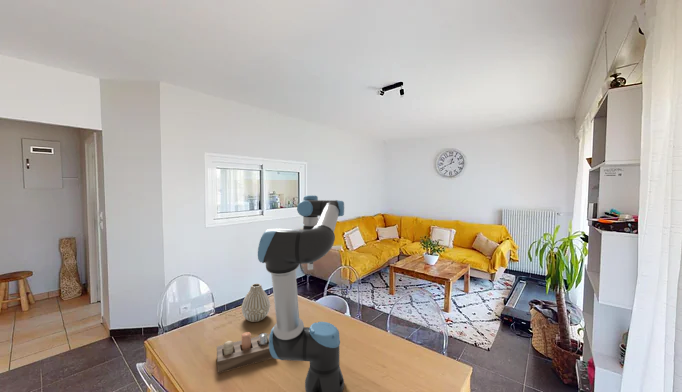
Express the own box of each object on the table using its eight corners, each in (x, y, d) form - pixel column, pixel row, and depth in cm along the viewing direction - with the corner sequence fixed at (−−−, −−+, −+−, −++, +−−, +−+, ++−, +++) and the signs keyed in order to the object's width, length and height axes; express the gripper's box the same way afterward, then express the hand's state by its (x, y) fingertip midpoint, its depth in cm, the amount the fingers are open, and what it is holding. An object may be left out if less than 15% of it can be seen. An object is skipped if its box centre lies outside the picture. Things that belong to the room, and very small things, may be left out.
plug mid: (251, 352, 121) (251, 335, 121) (242, 355, 119) (242, 337, 119) (250, 348, 125) (250, 331, 125) (241, 350, 123) (241, 333, 123)
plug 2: (268, 353, 125) (268, 336, 124) (259, 355, 123) (259, 338, 123) (266, 348, 128) (266, 332, 128) (258, 350, 126) (258, 334, 126)
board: (275, 357, 122) (275, 346, 122) (218, 373, 111) (217, 361, 111) (270, 343, 133) (270, 333, 133) (216, 356, 122) (216, 346, 122)
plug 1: (233, 362, 118) (233, 344, 118) (223, 365, 116) (223, 347, 116) (233, 357, 122) (232, 340, 121) (223, 359, 120) (223, 342, 119)
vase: (235, 323, 153) (235, 288, 152) (252, 310, 168) (252, 279, 167) (260, 327, 148) (260, 291, 147) (275, 314, 163) (275, 282, 163)
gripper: (321, 226, 136) (321, 271, 137) (312, 222, 148) (312, 265, 149) (307, 226, 133) (307, 274, 134) (299, 223, 145) (299, 266, 145)
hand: (310, 269), depth 141 cm, fingers closed
